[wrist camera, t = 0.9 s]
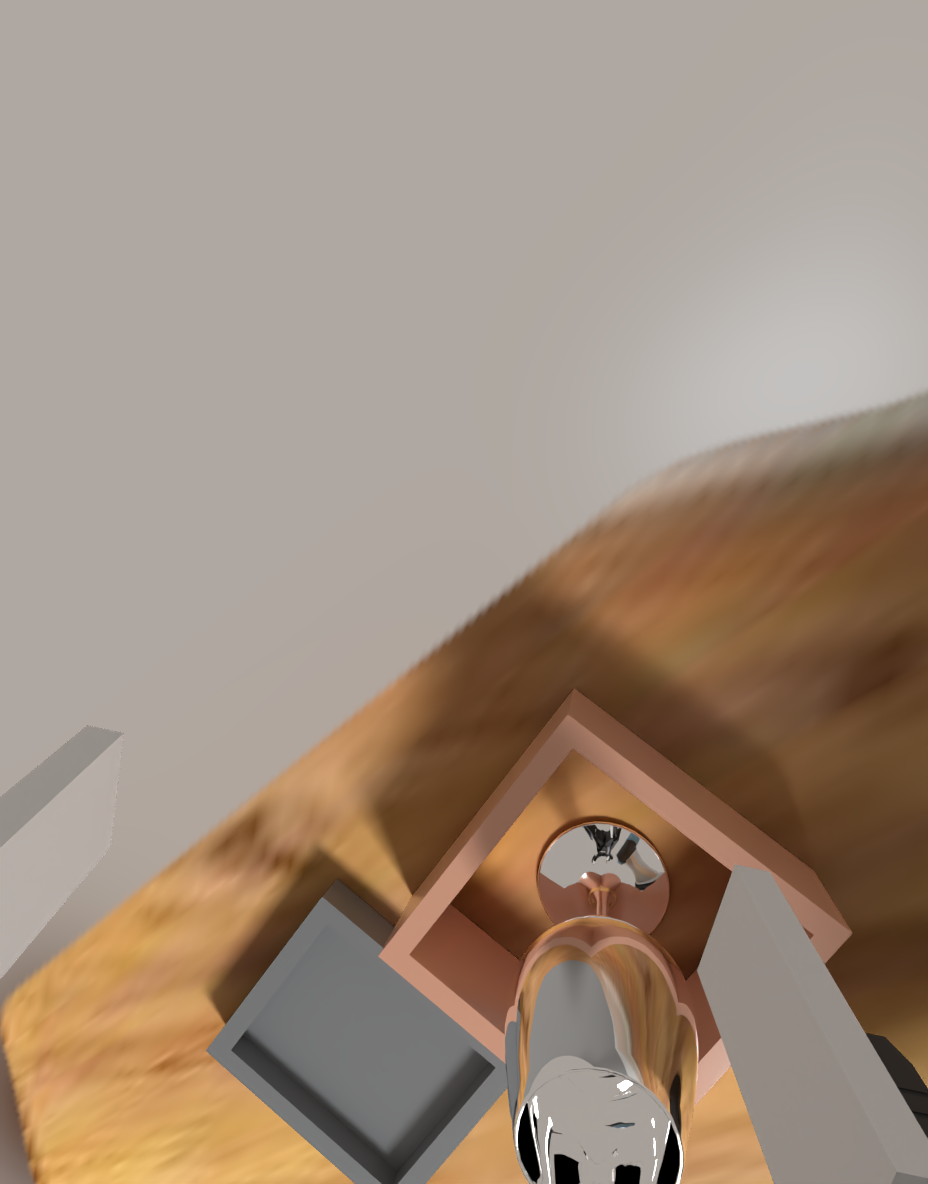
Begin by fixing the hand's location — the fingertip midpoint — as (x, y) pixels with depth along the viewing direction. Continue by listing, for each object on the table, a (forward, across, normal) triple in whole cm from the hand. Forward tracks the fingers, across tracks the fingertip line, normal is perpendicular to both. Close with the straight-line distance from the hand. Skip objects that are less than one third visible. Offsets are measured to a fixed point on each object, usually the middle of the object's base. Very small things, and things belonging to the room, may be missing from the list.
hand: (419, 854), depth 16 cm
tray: (+25, -1, +30) cm, 39 cm away
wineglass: (+25, -12, +16) cm, 32 cm away
